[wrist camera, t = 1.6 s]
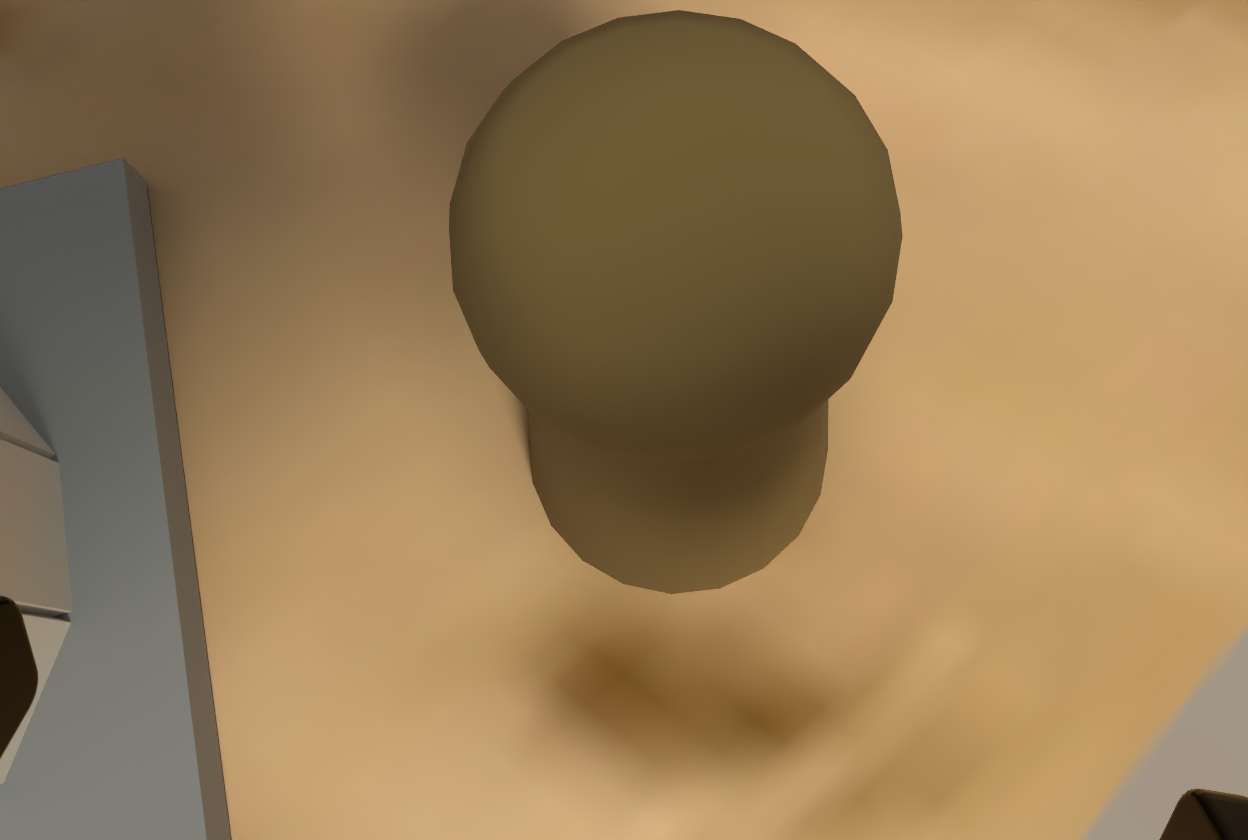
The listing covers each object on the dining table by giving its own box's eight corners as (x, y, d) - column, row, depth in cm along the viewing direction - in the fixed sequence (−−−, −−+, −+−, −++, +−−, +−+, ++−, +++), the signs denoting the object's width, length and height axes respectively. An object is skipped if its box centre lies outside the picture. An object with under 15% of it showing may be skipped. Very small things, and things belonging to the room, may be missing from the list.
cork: (653, 252, 22) (626, -172, 12) (887, 419, 21) (1095, 111, 10) (468, 468, 21) (254, 215, 11) (703, 658, 20) (726, 585, 9)
